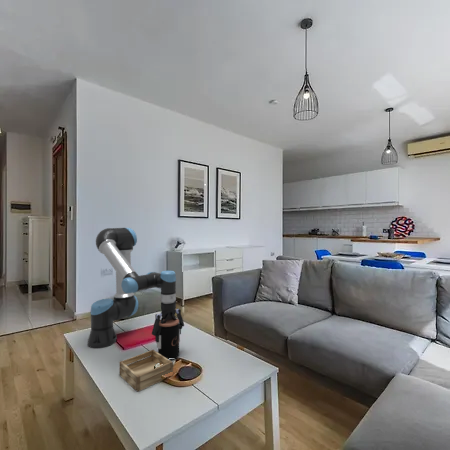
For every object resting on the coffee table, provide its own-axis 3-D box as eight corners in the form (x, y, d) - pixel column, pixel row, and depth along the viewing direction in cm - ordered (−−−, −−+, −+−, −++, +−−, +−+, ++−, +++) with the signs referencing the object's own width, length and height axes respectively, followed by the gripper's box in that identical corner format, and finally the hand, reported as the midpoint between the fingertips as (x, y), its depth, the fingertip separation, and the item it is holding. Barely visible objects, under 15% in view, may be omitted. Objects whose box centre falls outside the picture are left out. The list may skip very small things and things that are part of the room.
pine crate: (119, 375, 125) (119, 361, 125) (153, 361, 137) (153, 349, 136) (137, 391, 113) (137, 377, 112) (172, 375, 125) (172, 362, 124)
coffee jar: (174, 362, 136) (174, 325, 136) (154, 360, 138) (154, 324, 138) (182, 352, 146) (182, 318, 146) (163, 350, 149) (163, 316, 148)
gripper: (151, 308, 131) (152, 354, 131) (191, 298, 147) (191, 339, 148) (143, 304, 136) (144, 349, 137) (182, 295, 152) (182, 335, 153)
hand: (168, 344), depth 142 cm, fingers closed on coffee jar, 11 cm apart
